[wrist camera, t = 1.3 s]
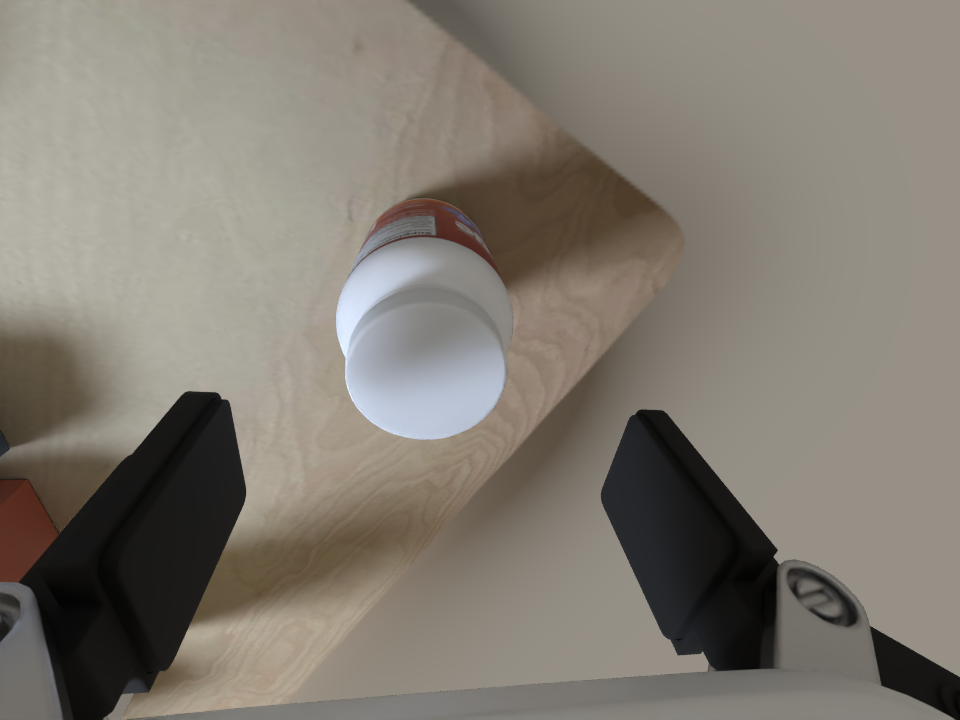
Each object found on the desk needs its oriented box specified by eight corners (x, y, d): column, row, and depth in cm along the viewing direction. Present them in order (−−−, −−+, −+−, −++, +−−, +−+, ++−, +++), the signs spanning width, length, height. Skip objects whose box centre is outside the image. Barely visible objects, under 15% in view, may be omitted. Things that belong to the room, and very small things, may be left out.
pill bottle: (499, 294, 23) (553, 426, 14) (393, 328, 23) (373, 481, 14) (465, 176, 20) (504, 244, 10) (341, 218, 20) (271, 321, 11)
